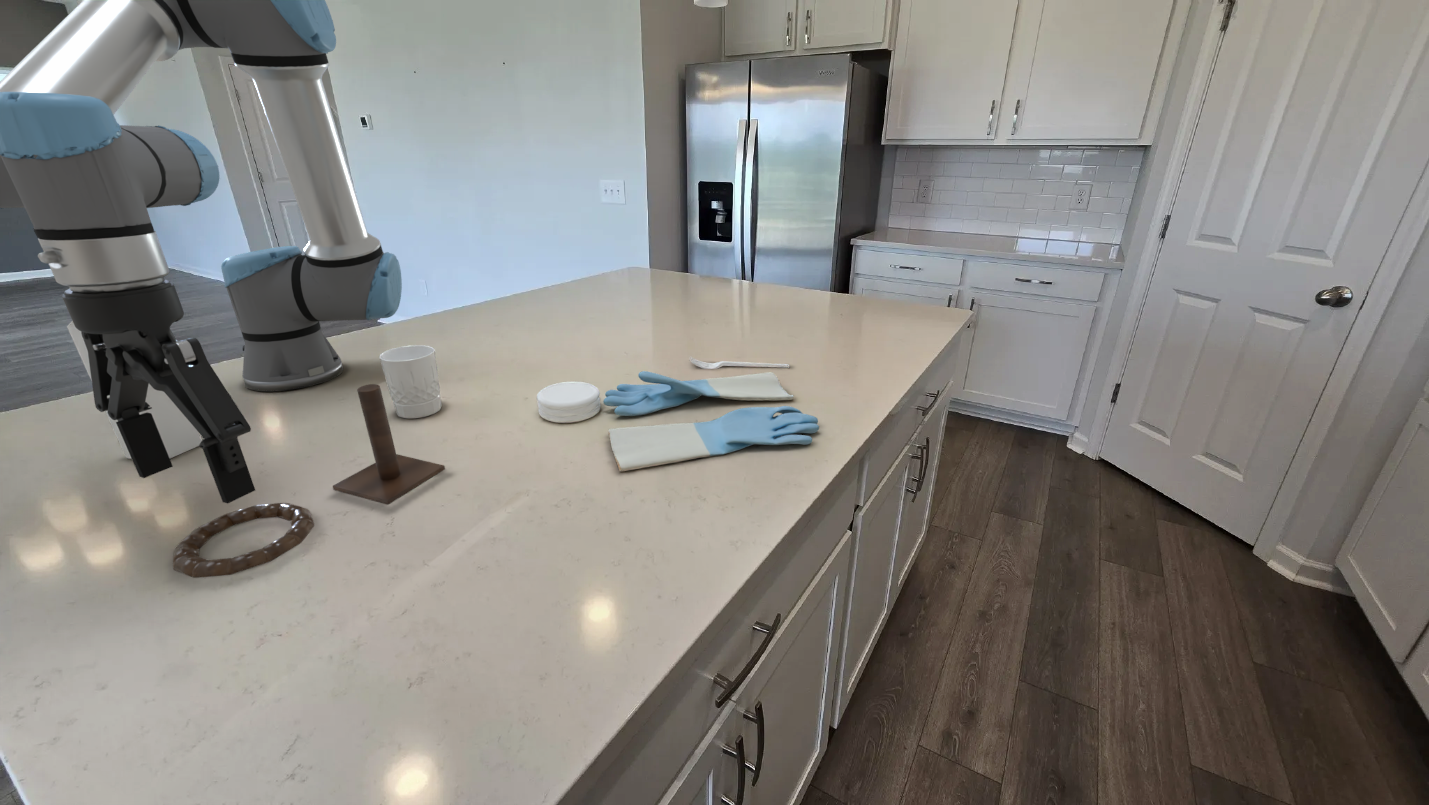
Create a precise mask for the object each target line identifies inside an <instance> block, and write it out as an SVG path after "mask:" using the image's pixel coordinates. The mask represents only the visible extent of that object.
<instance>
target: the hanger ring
mask: <svg viewBox="0 0 1429 805" xmlns="http://www.w3.org/2000/svg"><path fill="white" fill-rule="evenodd" d="M268 518H278V519H279V518H280V519H283V520H287V521H289V522H290V525H291V526H290V528H289V529H288V530H287V531H286V533H285V534H284V535H282V536H281V537H278V539H275V540H274V541H272V542H270V543H268V544H267V545H265V546H263V547H261V548H259V549H255V550H253V551H252V550H251V551H249V552H246V553H243V554H240V555H237V556H234V557H233V556H232V557H227V558H226V557H225V558H215V559H214V558H213V559H207V558H204V557H202V556H201V557H200V549H201V548H202V547H203V546H204V545H205V544H206V543H207V542H208V541H209V540H210V539H211V538H212V537H214V536H215V535H217V534H220V533H221V532H224V531H225V530H227V529H230V528H231V527H233V526H237V525H239V524H243V523H247V522H249V521H253V520H257V519H268ZM314 527H315V521H314V519H313V515H312V512H311V511H310V510H309V509H308V508H306V507H303V506H300V505H296V504H293V503H289V502H275V503H261V504H255V505H252V506H249V507H248V506H247V507H245V508H241V509H237V510H234V511H230V512H227V513H223V514H222V515H220V516H218V517H215V518H214V519H212V520H210V521H208V522H206V523H204V524H202V525H200V526H198V527H196V528H195V529H193V530H192V531H191V532H190V533H189V534H188V535H187V536H186V537H185V538H183V539H182V540H181V541H180V542H179V543H178V544H177V545H176V546H175V548H174V549H173V556H172V568H173V570H174V571H176V572H178V573H181V574H183V575H185V576H188V577H191V578H193V579H197V578H209V577H210V578H211V577H219V576H230V575H233V574H237V573H240V572H243V571H246V570H249V569H253V568H255V567H258V566H261V565H265V564H268V563H269V562H271V561H274V560H276V559H277V558H279V557H280V556H283V554H285V553H287V552H289V551H291V550H292V549H294V548H296V546H299V545H300V544H302V542H303V541H304V540H305V539H306V538H307V536H308V535H309V533H310V532H311V531H312V530H313V529H314Z"/></svg>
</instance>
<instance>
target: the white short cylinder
mask: <svg viewBox="0 0 1429 805" xmlns="http://www.w3.org/2000/svg"><path fill="white" fill-rule="evenodd" d="M600 394H601V392H600V389H599V388H598V387H597V386H596V385H594V384H592V383H590V382H586V381H576V380H575V381H574V380H573V381H562V382H556V383H552V384H549V385H547V386H545V387H542V388H541V389H540V390H539V391H538V393H537V394H536V401H537V407H538V408H537V409H538V410H537V411H538V414H539V417H541V418H542V419H544V420H545V421H547V422H552V423H557V424H558V423H559V424H569V423H578V422H582V421H586V420H588V419H591V418H593V417H594V416H595V415H597V414H598V413H599V412H600V411H601V407H602V405H601V397H600Z"/></svg>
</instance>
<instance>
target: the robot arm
mask: <svg viewBox="0 0 1429 805" xmlns="http://www.w3.org/2000/svg"><path fill="white" fill-rule="evenodd" d="M76 3H77V5H76V7H75V8H73V10H72V11H70V13H69V14H68V15H66V17H64V18H63V19H62V21H61V22H59V23H58V24H57V25H56V26H55V27H54V28H53V29H52V30H51V31H50V32H49V33H48V34H47V35H46V36H45V37H44V38H43V39H42V40H41V41H40V42H39V43H38V44H36V46H35V47H34V48H32V49H31V51H29V53H27V54H26V56H25V57H23V58H22V59H21V60H20V61H19V63H17V64H16V65H15V66H14V67H13V68H12V69H11V70H10V71H9V72H8V73H7V74H6V75H5V76H4V77H3V78H2V79H1V80H0V210H3V209H21V208H22V209H23V208H24V209H25V211H26V213H27V215H28V217H29V219H30V223H31V224H32V226H33V228H32V230H33V232H34V234H35V236H36V238H37V240H38V243H39V245H40V247H41V249H42V252H39V253H38V254H37V258H38V259H39V261H40V262H41V263H43V264H48V266H49V268H50V270H51V273H52V275H53V278H54V280H55V282H56V283H57V284H59V285H61V286H63V287H68V288H67V289H66V290H64V291H63V294H61V297H62V300H63V302H64V305H65V307H66V309H67V312H68V314H69V316H70V319H71V321H73V323H74V325H75V327H76V328H77V329H78V330H79V331H81V334H82V337H83V340H84V342H85V345H86V348H87V350H88V357H89V364H90V372H91V379H92V381H91V384H92V386H91V387H92V394H93V400H94V401H93V402H94V406H95V408H96V410H97V411H99V412H100V413H104V412H105V411H108V415H109V417H111V419H113V420H118V422H116V424H117V426H118V428H119V431H120V433H121V435H122V438H123V440H124V442H125V444H126V447H127V449H128V451H129V454H130V456H131V458H132V459H131V461H132V462H133V465H134V468H135V470H136V472H137V474H138V476H139V478H142V479H146V478H148V477H151V476H153V475H155V474H156V475H157V474H158V473H161V472H163V471H165V470H166V471H167V470H168V469H171V468H173V466H174V465H173V463H172V461H171V458H169V456H168V453H167V451H166V448H165V446H164V444H163V441H162V439H161V436H160V434H159V431H158V429H157V426H156V424H155V421H154V419H153V416H152V414H151V413H144V414H139V413H140V412H143V411H146V410H149V409H152V407H150V405H149V404H148V403H147V402H145V401H146V395H147V390H148V384H150V385H151V386H152V387H153V388H154V389H155V390H157V391H163V392H165V394H166V395H167V396H168V397H169V398H170V399H171V401H172V402H173V403H174V404H175V405H176V406H177V408H178V409H179V410H180V411H181V412H182V413H183V415H184V416H185V417H186V418H187V419H188V420H189V422H190V423H191V424H192V425H193V426H194V427H195V429H196V430H197V431H198V433H199V435H200V437H202V439H201V443H200V444H199V446H198V447H199V448H200V449H202V451H203V454H204V457H205V459H206V463H207V465H208V467H209V470H210V473H211V475H212V478H213V480H214V483H215V486H216V488H217V492H218V494H219V497H220V499H221V502H222V503H224V504H230V503H232V502H234V501H236V500H239V499H241V498H242V497H245V496H247V495H249V494H251V493H253V492H255V491H256V488H255V485H254V481H253V479H252V477H251V476H252V475H251V473H250V470H249V467H248V465H247V461H246V460H245V456H244V453H243V451H242V447H241V444H240V442H239V439H238V437H240V436H243V435H246V434H247V433H250V432H251V431H252V428H251V425H250V423H249V422H248V420H247V419H246V417H245V416H244V414H243V413H242V411H241V409H240V408H239V406H238V405H237V404H236V402H235V400H234V399H233V397H232V395H230V393H229V391H228V390H227V388H226V387H225V385H224V384H223V382H222V381H221V379H220V377H219V376H218V375H217V373H216V371H215V370H214V368H213V367H212V365H211V364H210V362H209V361H208V359H207V356H206V353H205V352H204V350H203V347H202V344H201V342H200V341H199V339H198V338H197V337H194V336H193V337H189V338H185V339H182V340H178V339H177V338H176V336H175V334H174V333H173V331H172V330H171V326H172V325H173V324H174V323H177V322H179V321H180V320H181V319H182V318H183V317H184V316H185V312H184V308H183V307H182V303H181V300H180V297H179V295H178V292H177V288H176V285H175V284H174V283H173V282H171V281H170V280H169V279H165V278H164V277H166V276H168V275H169V274H170V272H171V271H170V269H169V265H168V263H167V259H166V257H165V254H164V251H163V249H162V246H161V243H160V239H159V237H158V234H157V231H156V230H155V229H154V226H153V223H152V221H151V216H150V214H149V211H148V209H151V208H152V209H153V208H162V207H163V208H164V207H171V206H183V207H186V206H191V204H195V203H197V202H202V201H204V200H207V199H208V198H210V196H212V195H213V194H214V193H215V192H216V190H217V188H218V186H219V183H220V169H219V164H218V163H217V160H216V159H215V156H214V155H213V153H212V152H211V150H210V149H208V147H207V146H206V145H205V144H203V143H202V142H201V141H200V140H199V139H198V138H196V137H194V136H193V135H191V134H189V133H187V132H184V131H182V130H179V129H174V128H167V127H165V126H162V125H128V124H127V125H125V124H124V125H123V124H122V125H120V124H119V122H118V121H117V119H116V117H115V114H116V112H117V111H118V110H119V109H120V108H121V106H122V105H123V103H124V102H125V101H126V100H127V98H128V97H129V96H130V95H131V93H132V92H133V91H134V89H136V87H137V86H138V84H139V83H140V82H141V80H142V79H143V78H144V77H145V75H146V74H147V72H149V70H150V69H151V68H152V66H153V65H154V64H155V63H156V62H157V63H159V62H164V61H168V60H170V59H172V58H173V57H174V56H175V55H176V54H177V53H178V51H181V50H184V49H193V48H214V49H228V50H229V52H230V55H231V58H232V61H233V63H234V66H235V67H237V68H238V69H239V70H241V71H242V72H244V73H245V74H247V75H248V76H249V77H250V78H251V79H252V81H253V84H254V86H255V88H256V91H257V94H258V97H259V100H260V103H261V105H262V108H263V111H264V114H265V117H266V119H267V122H268V125H269V128H270V131H271V133H272V136H273V139H274V141H275V145H276V147H277V150H278V153H279V156H280V159H281V161H282V164H283V167H284V169H285V170H284V171H285V173H286V175H287V178H288V181H289V183H290V187H291V189H292V192H293V195H294V198H295V201H296V203H297V206H298V209H299V211H300V215H301V218H302V220H303V223H304V226H305V228H306V231H307V234H308V237H309V241H308V242H307V244H306V245H305V246H304V248H303V251H302V250H301V248H300V247H299V246H297V245H284V246H276V247H270V248H264V249H257V250H252V251H248V252H243V253H240V254H235V255H231V256H229V257H226V258H225V259H224V260H223V262H221V266H220V267H221V272H222V277H223V281H224V288H225V289H226V291H227V295H228V298H229V300H230V303H231V305H232V308H233V312H234V315H235V317H236V321H237V323H238V327H239V329H240V332H241V335H242V338H243V342H244V345H242V351H243V363H242V379H243V382H244V385H245V387H246V388H247V389H249V390H251V391H255V392H283V391H285V392H286V391H292V390H298V389H303V388H308V387H312V386H316V385H319V384H323V383H325V382H329V381H331V380H333V379H334V378H336V377H338V376H340V375H341V374H342V372H343V371H344V365H343V362H342V359H341V357H340V355H339V354H338V353H337V351H336V349H335V348H334V347H333V346H332V344H331V343H330V342H329V340H328V338H327V336H325V334H324V333H323V330H322V327H321V323H320V322H337V321H338V322H339V321H341V322H342V321H369V322H370V321H372V320H379V319H387V318H391V317H393V316H394V315H395V314H396V313H397V311H398V309H399V307H400V304H401V298H402V288H403V287H402V286H403V285H402V284H403V283H402V280H403V279H402V270H401V266H400V265H401V264H400V262H399V259H398V257H397V256H396V255H395V254H394V253H392V252H388V251H386V252H384V250H383V247H382V243H381V240H380V239H379V238H377V237H376V236H373V235H372V234H371V233H369V231H368V230H367V226H366V223H365V220H364V216H363V212H362V210H361V206H360V203H359V200H358V196H357V192H356V190H355V186H354V183H353V180H352V176H351V173H350V169H349V165H348V162H347V159H346V155H345V153H344V149H343V145H342V143H341V142H342V141H341V138H340V134H339V132H338V128H337V126H336V123H335V119H334V115H333V111H332V109H331V105H330V102H329V99H328V94H327V92H326V89H325V85H324V82H323V75H324V74H325V73H326V71H327V69H328V68H329V66H330V63H329V60H328V56H327V54H329V53H331V52H334V51H335V49H336V46H337V36H336V34H335V30H336V29H335V24H334V20H333V18H332V14H331V12H330V9H329V7H328V3H327V2H326V0H76ZM91 379H90V380H91ZM108 395H110V397H109V398H107V396H108ZM149 407H150V408H149Z"/></svg>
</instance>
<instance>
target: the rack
mask: <svg viewBox="0 0 1429 805" xmlns="http://www.w3.org/2000/svg"><path fill="white" fill-rule="evenodd" d="M356 392H357V395H358V400H359V403H360V407H361V411H362V415H363V418H364V419H363V420H364V423H365V427H366V431H367V434H368V438H369V442H370V446H371V450H372V454H373V457H374V461H375V462H374V463H372V464H370V465H369V466H366V467H365V468H363V469H361V470H359V471H357V472H355V473H354V474H352V475H350V476H348V477H346V478H344V479H343V480H341V481H339V482H337V483H334V484H333V485H332V489H333V490H334V491H336V492H341V493H344V494H347V495H351V496H355V497H359V498H362V499H367V500H369V501H374V502H378V503H380V504H384V505H390V504H391V503H393V502H395V501H397V500H398V499H400V498H401V497H402V496H405V495H406V494H408V493H410V492H411V491H413V490H414V489H416V488H417V487H419V486H420V485H423V484H424V483H425V482H427V481H429V480H431V479H432V478H433V477H435V476H436V475H438V474H440V473H441V472H443V471H445V470H446V466H445V465H444V464H439V463H435V462H432V461H427V460H423V459H418V458H414V457H411V456H406V455H402V454H397V451H396V447H395V443H394V439H393V434H392V431H391V427H390V422H389V418H388V414H387V409H386V405H385V401H384V397H383V392H382V389H381V385H379V384H376V383H370V384H365V385H361V386H359V387H358V388H357V389H356Z"/></svg>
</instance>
